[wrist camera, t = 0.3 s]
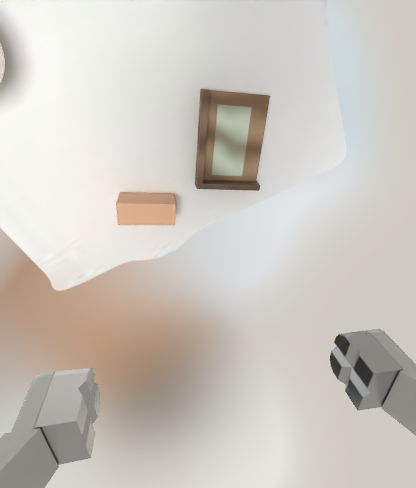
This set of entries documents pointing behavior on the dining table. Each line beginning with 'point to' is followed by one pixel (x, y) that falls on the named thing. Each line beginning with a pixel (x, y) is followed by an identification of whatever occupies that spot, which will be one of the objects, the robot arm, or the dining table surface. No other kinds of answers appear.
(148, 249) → the dining table surface
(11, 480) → the robot arm
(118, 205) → the terracotta block
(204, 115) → the brown wooden flat frame
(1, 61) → the lidded bowl
